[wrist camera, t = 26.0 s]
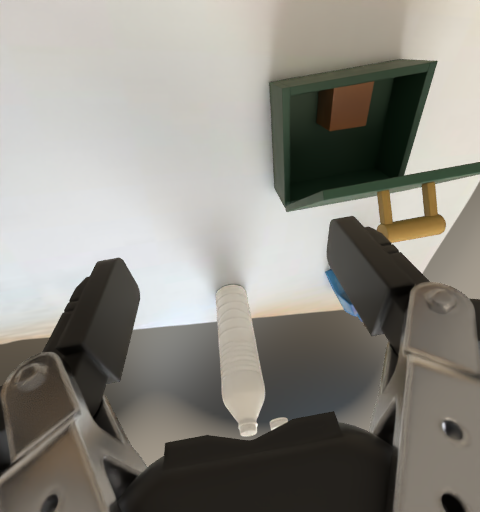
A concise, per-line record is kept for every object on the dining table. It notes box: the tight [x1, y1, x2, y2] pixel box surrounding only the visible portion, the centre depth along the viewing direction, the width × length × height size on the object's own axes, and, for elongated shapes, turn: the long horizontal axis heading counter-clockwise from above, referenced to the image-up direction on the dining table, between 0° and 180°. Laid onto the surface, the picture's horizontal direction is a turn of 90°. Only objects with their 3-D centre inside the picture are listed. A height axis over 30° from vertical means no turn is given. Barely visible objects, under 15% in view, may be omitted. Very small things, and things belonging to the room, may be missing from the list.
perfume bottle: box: [325, 269, 366, 327], centre depth 49 cm, size 6×6×12 cm
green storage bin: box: [269, 59, 437, 207], centre depth 32 cm, size 14×16×6 cm
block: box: [316, 81, 374, 131], centre depth 30 cm, size 4×4×4 cm
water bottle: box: [216, 285, 288, 436], centre depth 43 cm, size 9×6×25 cm
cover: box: [285, 162, 480, 243], centre depth 27 cm, size 14×16×5 cm
